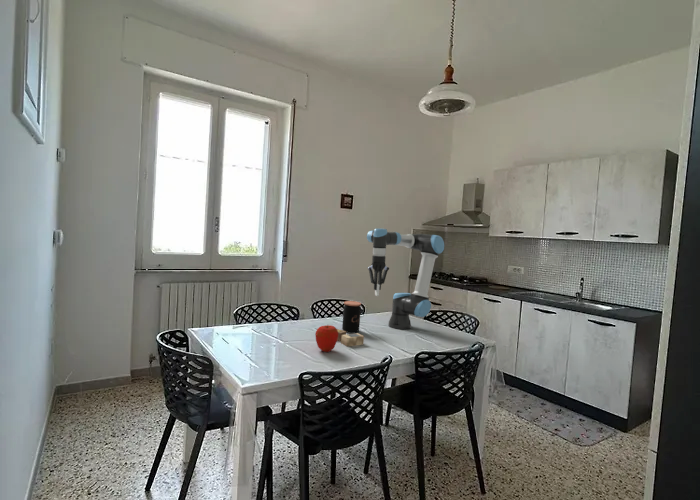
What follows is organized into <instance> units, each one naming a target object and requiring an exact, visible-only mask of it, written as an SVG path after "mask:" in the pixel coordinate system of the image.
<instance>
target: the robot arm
mask: <svg viewBox="0 0 700 500" xmlns="http://www.w3.org/2000/svg"><path fill="white" fill-rule="evenodd" d="M366 239H367V241H368V242H369V243H373V244H372V261H371V265H369V266H368V267H367V270H368V271H369V279H370V283H371V284H373V290H374V296H376V297H380V291H381V289H382V285H383V284H385V282H386V279H387V274H388V271H389V270H390V267H388V266H387V264H386V254H387V246H388V245H392V246H401V247H405V248H407V249H412V250H414V251H419V252H420V254H421V260H420V264H419V268H418V274H417V277H416V282H415V287H414V291H413V292H411V293H409V292H396V293H394V294H393V298H392V309H391V316H390V318H389V320H388V326H389V328H392V329H396V330H409V329H411V328H412V323H411V319H410V315H411V316H415V317H420V318H424V317H426V316H427V315H428V314H429V313H430V311H431V310H432V309H431V308H432V303H431V301H430V300H429V299H430V296H429V295H428V293H429V289H430V284H431V279H432V276H433V271H434V266H435V261H436V259H437V258H439V255H441V254H442V253H443V251H444V250H445V241H444V239H443V237H442V236H440V235H437V234H426V233H407V234H401V233H400V232H397V231H388V230H387V229H386V228H374V230H369V231H368V232H367V235H366ZM373 272H374V273H373Z"/></svg>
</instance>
